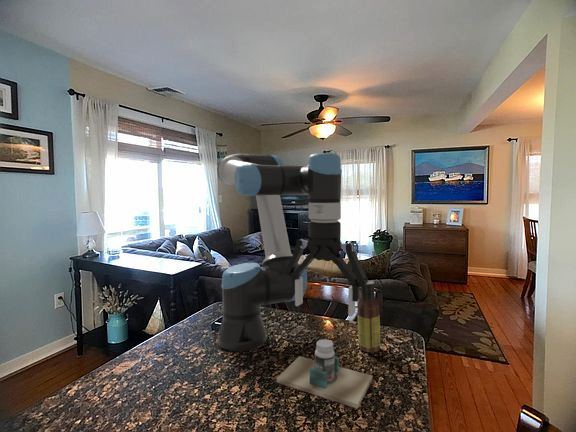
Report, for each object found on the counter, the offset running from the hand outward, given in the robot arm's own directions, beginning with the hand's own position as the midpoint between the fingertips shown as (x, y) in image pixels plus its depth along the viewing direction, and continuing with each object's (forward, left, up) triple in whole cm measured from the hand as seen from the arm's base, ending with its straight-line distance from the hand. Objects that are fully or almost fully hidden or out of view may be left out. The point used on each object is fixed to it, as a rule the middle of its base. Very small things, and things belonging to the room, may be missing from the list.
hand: (324, 309), depth 77 cm
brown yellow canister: (+5, +21, -18) cm, 28 cm away
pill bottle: (0, 0, -17) cm, 17 cm away
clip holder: (0, 0, -18) cm, 18 cm away
